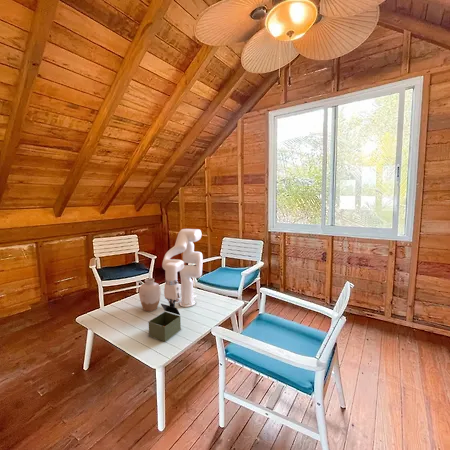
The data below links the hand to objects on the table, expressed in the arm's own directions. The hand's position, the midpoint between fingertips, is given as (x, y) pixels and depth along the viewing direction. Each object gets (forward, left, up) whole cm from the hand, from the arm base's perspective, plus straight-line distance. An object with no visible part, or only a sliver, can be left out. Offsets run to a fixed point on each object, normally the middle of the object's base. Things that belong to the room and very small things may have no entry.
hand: (172, 308), depth 164 cm
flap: (+2, 0, 0) cm, 2 cm away
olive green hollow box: (+7, 0, -13) cm, 15 cm away
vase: (-13, -32, -13) cm, 37 cm away
